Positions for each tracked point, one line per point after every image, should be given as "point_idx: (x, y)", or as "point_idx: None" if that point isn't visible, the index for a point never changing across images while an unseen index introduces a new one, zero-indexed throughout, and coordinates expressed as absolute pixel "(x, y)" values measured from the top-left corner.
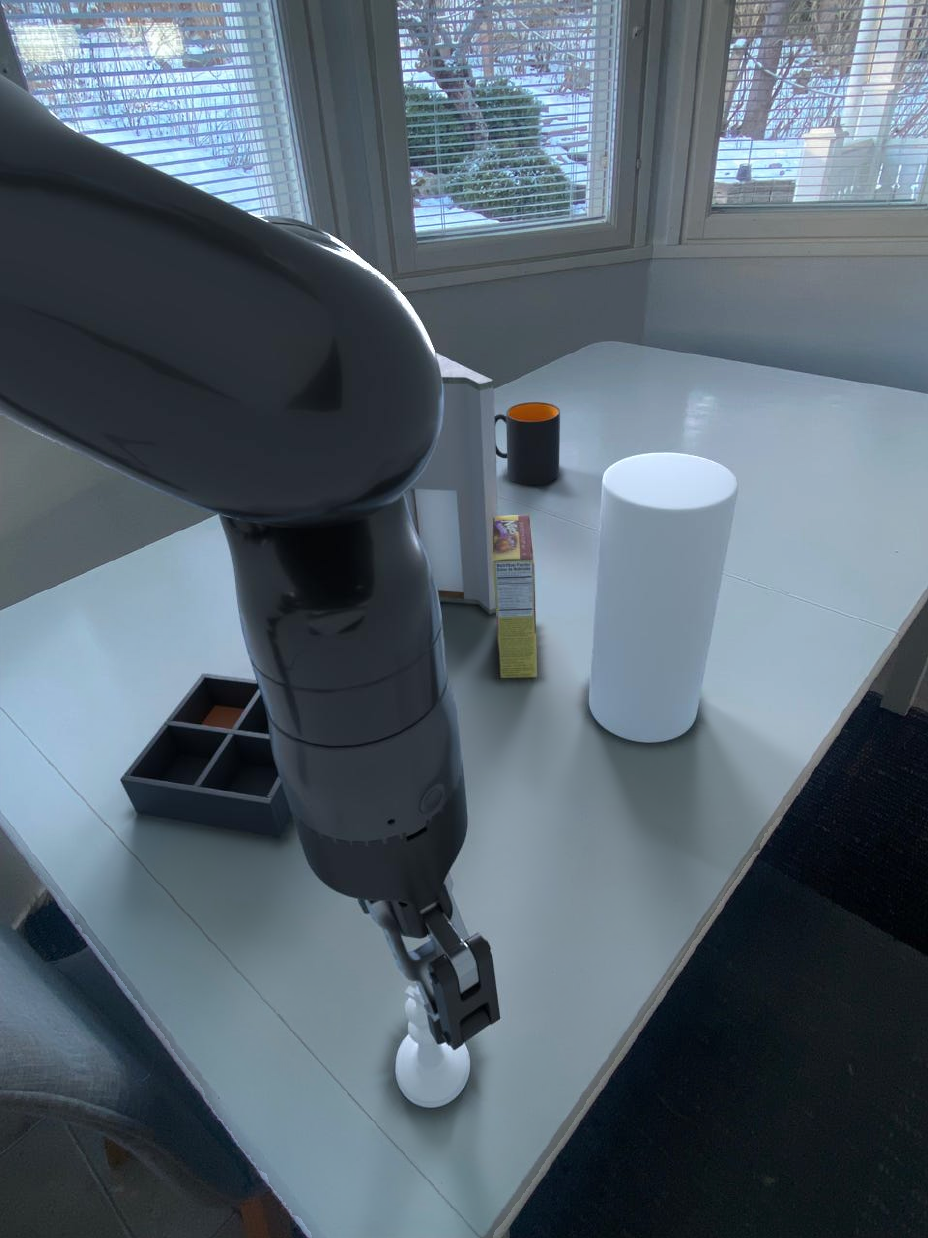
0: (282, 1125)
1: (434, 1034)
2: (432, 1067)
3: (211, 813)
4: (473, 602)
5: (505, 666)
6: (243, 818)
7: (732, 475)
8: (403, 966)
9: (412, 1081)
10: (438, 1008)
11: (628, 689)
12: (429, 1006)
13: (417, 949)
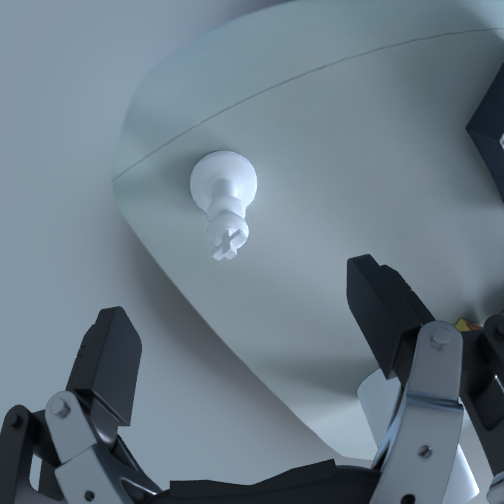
0: (227, 48)
1: (94, 328)
2: (211, 190)
3: (502, 92)
4: (501, 314)
5: (464, 328)
6: (491, 111)
7: None
8: (66, 494)
9: (211, 166)
10: (14, 472)
11: (394, 403)
12: (54, 421)
13: (125, 483)
